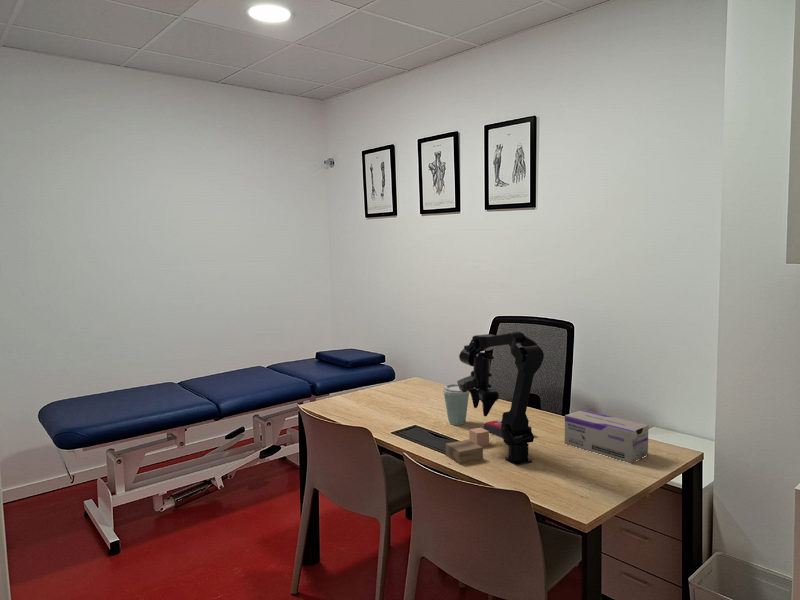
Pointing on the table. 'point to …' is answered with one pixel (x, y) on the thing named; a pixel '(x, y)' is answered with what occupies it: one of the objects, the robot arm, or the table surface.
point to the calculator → (496, 428)
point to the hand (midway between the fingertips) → (480, 411)
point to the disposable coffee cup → (456, 404)
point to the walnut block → (464, 451)
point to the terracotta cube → (479, 436)
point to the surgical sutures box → (607, 435)
